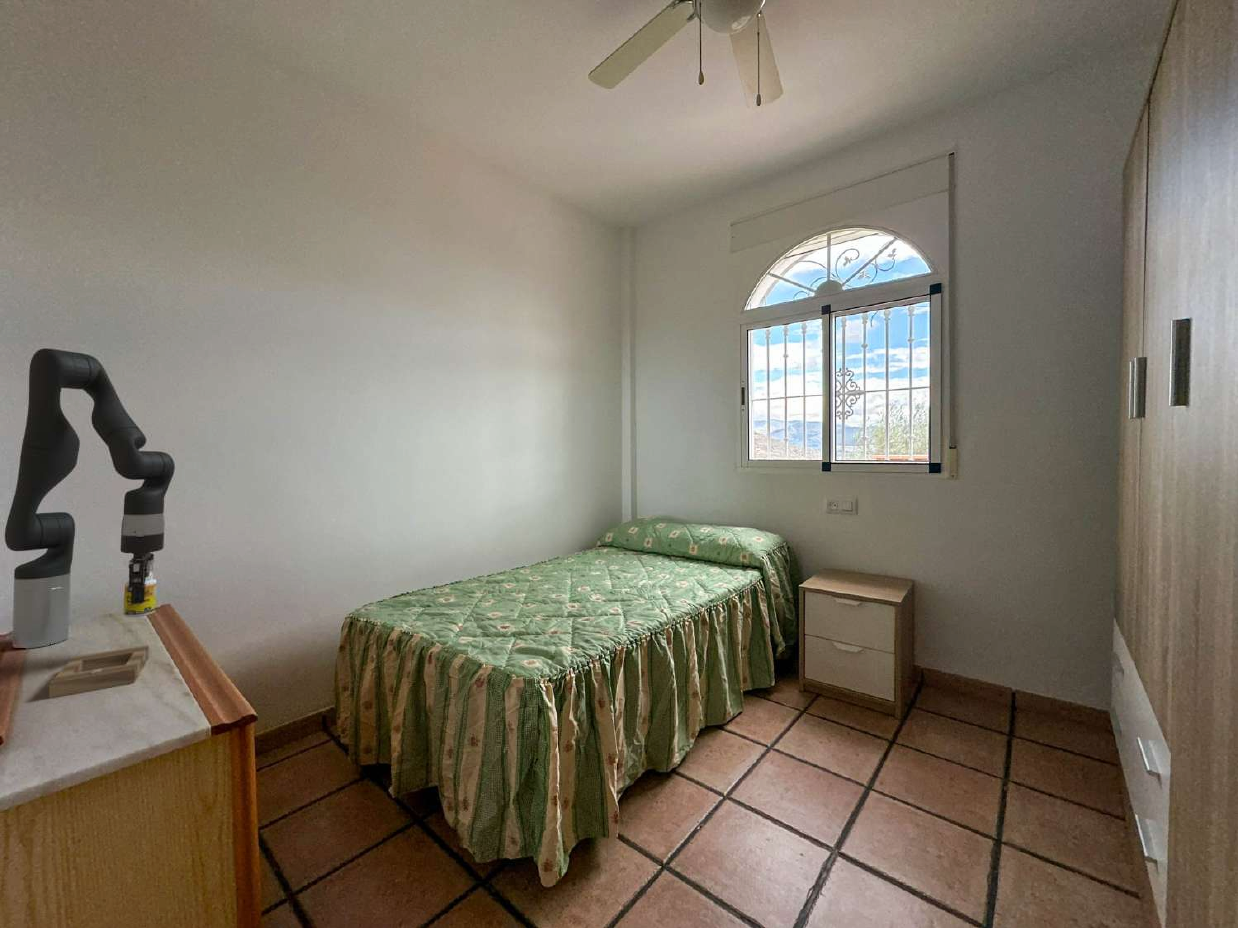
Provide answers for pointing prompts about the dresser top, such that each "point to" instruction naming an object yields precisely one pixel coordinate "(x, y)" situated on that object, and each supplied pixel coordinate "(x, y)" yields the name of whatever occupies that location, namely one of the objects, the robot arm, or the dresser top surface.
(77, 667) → the holder block
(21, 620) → the robot arm
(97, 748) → the dresser top surface
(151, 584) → the supplement bottle
